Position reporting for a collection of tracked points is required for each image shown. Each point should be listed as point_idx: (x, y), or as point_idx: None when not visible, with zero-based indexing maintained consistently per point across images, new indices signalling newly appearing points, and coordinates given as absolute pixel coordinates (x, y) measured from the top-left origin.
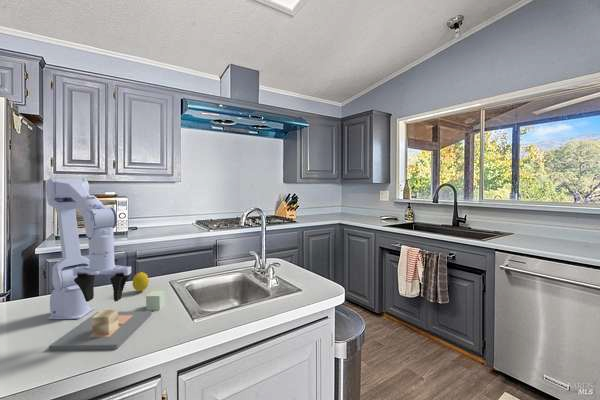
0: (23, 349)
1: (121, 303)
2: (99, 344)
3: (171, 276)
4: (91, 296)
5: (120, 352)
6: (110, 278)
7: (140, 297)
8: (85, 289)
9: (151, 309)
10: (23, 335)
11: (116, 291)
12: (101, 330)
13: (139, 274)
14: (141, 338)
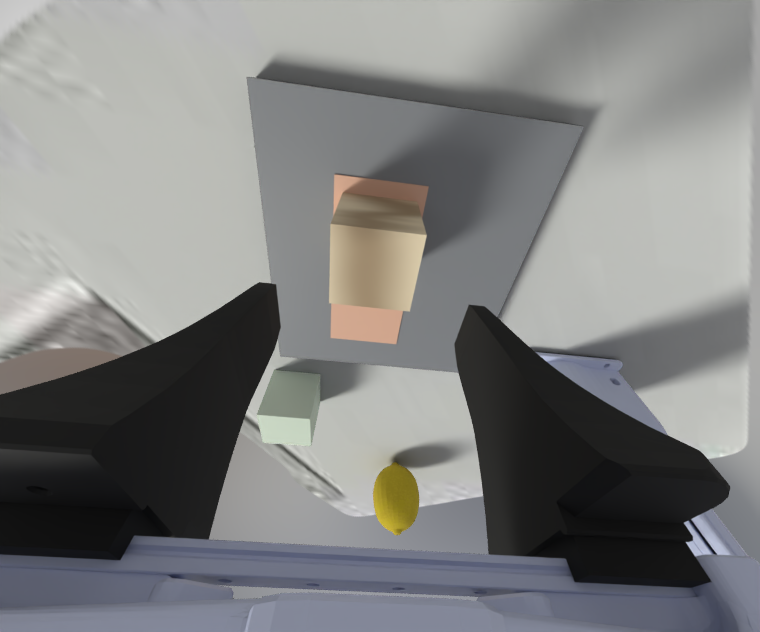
0: (680, 155)
1: (423, 417)
2: (341, 98)
3: (351, 512)
4: (463, 347)
5: (216, 34)
6: (92, 451)
7: (381, 439)
8: (514, 369)
9: (302, 375)
10: (688, 271)
11: (203, 322)
12: (375, 203)
13: (396, 524)
14: (203, 172)
